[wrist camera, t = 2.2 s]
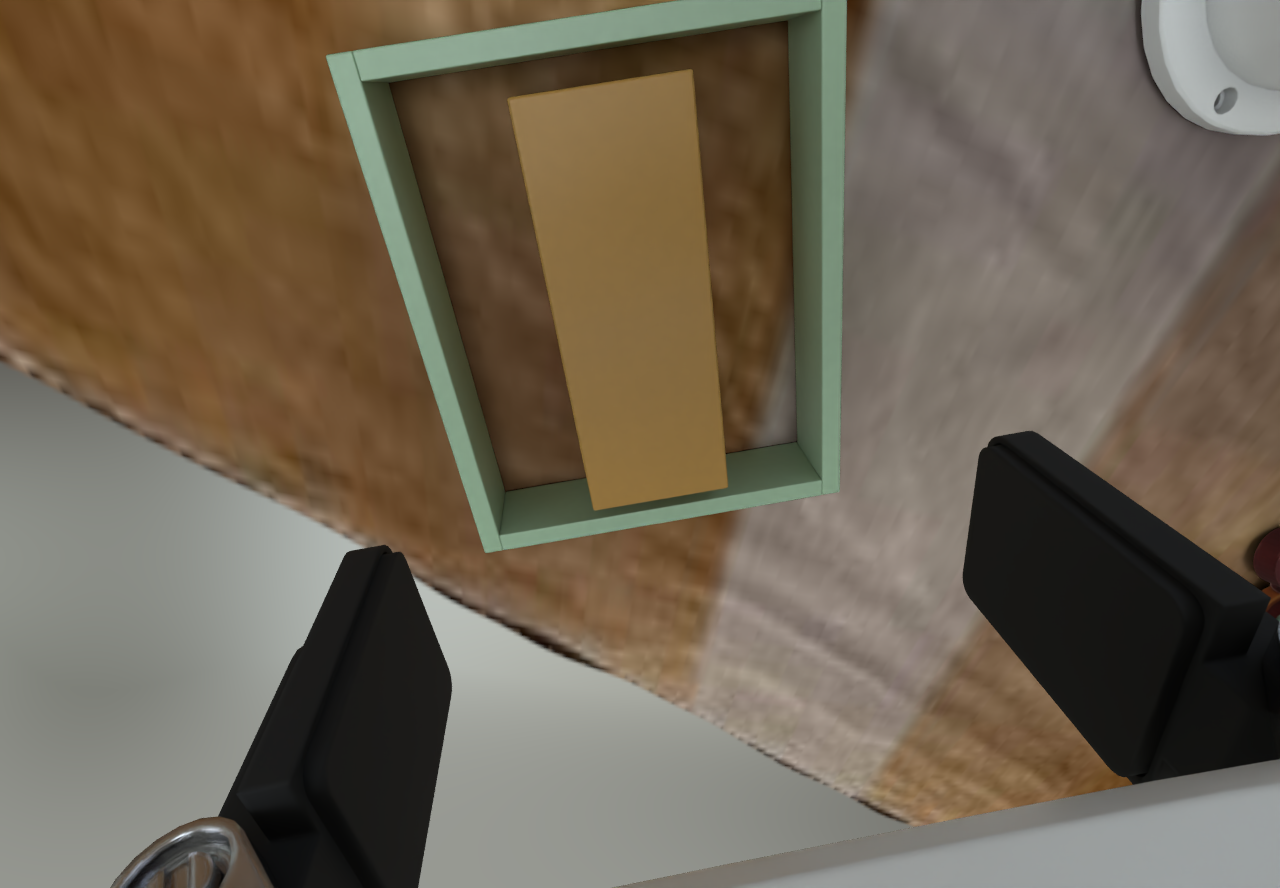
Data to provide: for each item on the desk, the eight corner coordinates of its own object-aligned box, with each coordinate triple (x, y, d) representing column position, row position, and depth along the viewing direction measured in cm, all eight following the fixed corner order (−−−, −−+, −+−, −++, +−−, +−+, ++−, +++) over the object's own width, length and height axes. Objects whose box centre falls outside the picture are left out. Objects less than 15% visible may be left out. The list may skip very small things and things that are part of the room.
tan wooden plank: (672, 71, 23) (693, 68, 19) (708, 438, 30) (728, 488, 27) (516, 96, 23) (506, 97, 19) (589, 458, 30) (593, 511, 26)
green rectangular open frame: (809, -11, 22) (847, -27, 19) (813, 453, 31) (840, 492, 28) (357, 59, 22) (324, 55, 19) (492, 508, 31) (485, 553, 28)
